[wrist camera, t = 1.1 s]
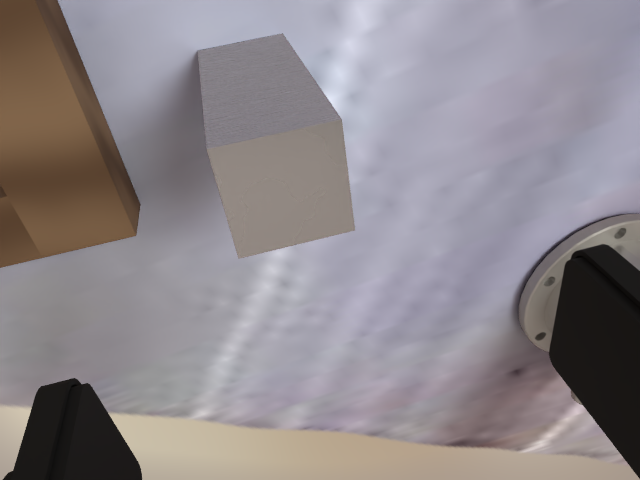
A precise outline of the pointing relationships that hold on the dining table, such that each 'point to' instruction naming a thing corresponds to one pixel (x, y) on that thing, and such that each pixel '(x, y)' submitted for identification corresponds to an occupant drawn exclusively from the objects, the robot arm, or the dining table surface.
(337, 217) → the steel square peg
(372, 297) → the dining table surface
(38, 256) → the walnut bore plate
